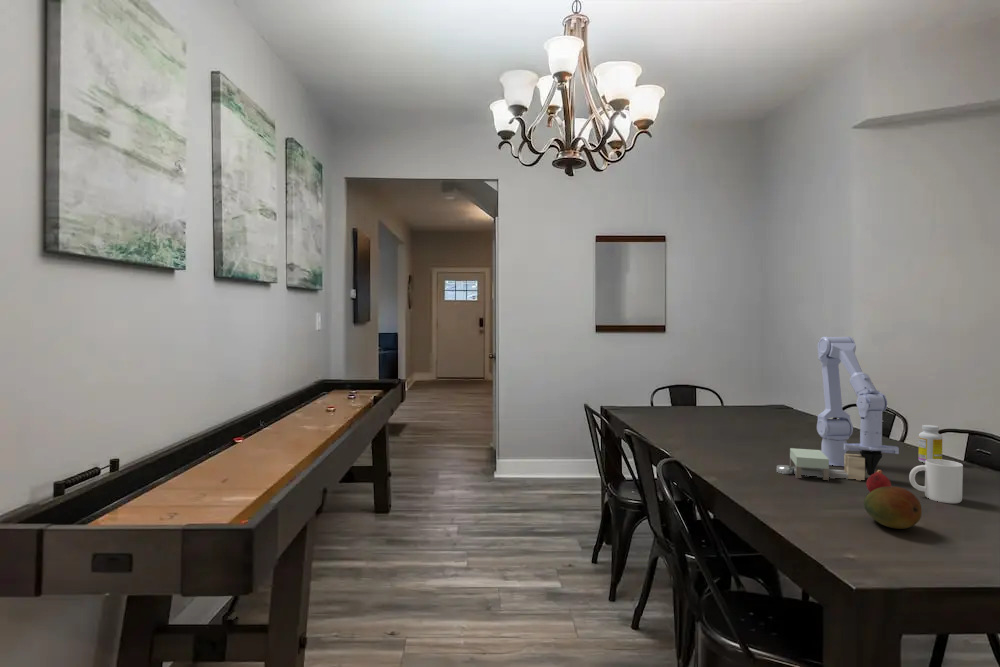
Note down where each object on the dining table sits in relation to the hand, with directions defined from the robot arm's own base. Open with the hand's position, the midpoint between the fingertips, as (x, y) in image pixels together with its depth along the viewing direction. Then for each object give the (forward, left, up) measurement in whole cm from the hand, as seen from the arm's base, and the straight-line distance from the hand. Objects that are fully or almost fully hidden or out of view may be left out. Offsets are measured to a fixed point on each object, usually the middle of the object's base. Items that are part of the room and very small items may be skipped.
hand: (870, 474), depth 180 cm
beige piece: (0, -12, -1) cm, 12 cm away
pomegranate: (+21, -3, -2) cm, 21 cm away
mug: (+16, +12, -2) cm, 20 cm away
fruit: (+45, -7, -2) cm, 46 cm away
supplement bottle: (-30, +26, -2) cm, 40 cm away
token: (0, -24, -2) cm, 24 cm away
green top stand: (0, -17, -1) cm, 17 cm away
